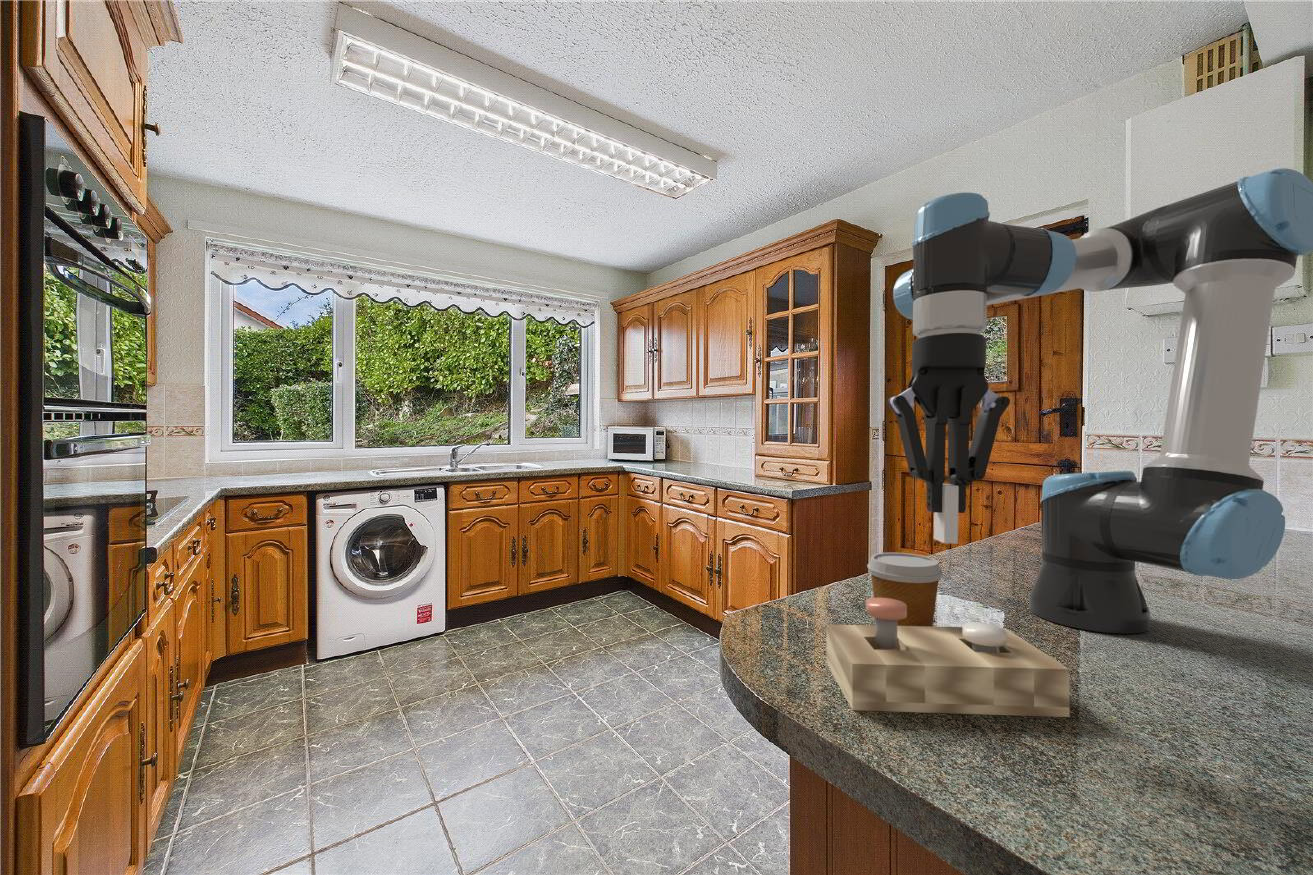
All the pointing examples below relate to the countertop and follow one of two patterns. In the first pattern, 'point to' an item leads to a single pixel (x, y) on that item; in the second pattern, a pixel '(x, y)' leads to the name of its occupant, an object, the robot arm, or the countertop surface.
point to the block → (944, 673)
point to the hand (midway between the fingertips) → (945, 540)
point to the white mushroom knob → (984, 636)
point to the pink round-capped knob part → (886, 619)
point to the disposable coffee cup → (907, 584)
